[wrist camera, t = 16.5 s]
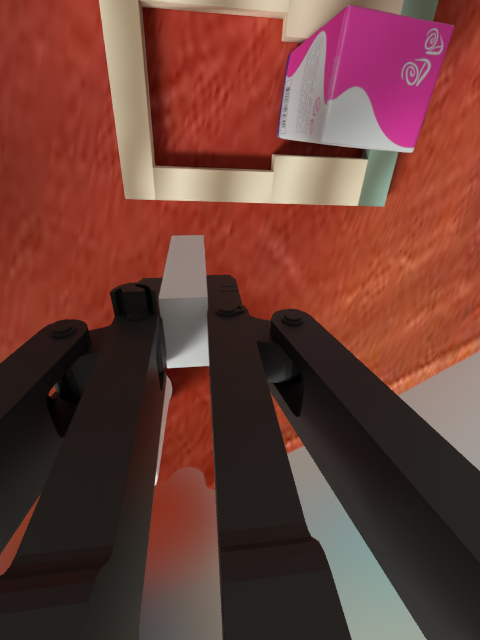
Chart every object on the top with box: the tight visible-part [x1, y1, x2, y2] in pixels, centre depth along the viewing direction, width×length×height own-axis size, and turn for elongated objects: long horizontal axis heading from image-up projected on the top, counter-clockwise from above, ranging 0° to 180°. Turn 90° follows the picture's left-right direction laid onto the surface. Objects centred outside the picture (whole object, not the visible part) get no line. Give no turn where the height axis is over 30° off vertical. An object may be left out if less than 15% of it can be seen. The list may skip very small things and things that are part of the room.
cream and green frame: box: [99, 0, 439, 206], centre depth 25 cm, size 23×15×2 cm, turn 87°
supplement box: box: [277, 4, 454, 152], centre depth 21 cm, size 6×6×12 cm
